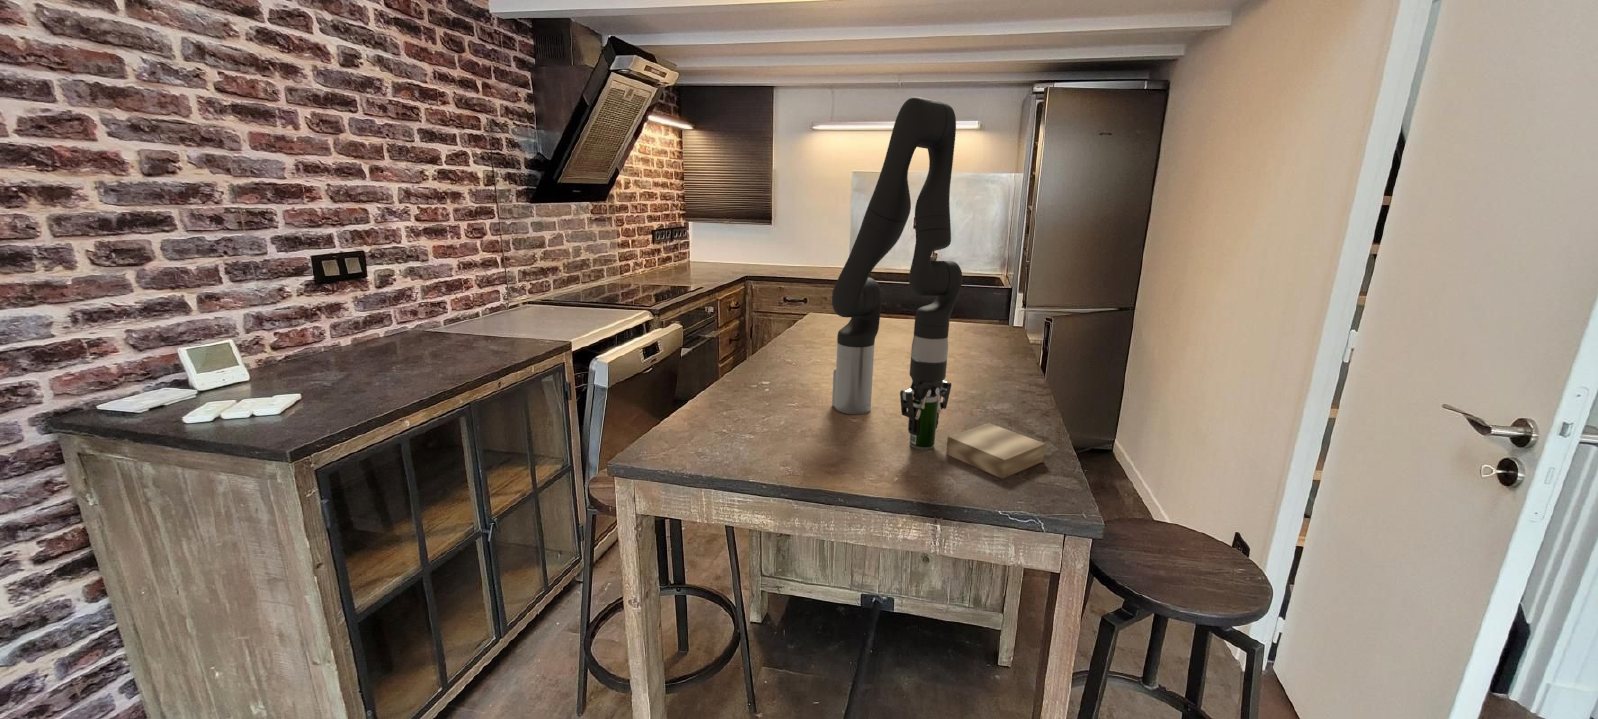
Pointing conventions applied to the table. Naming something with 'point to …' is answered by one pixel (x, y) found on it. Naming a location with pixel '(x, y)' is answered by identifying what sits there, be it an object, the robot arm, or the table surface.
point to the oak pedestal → (995, 450)
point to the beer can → (926, 424)
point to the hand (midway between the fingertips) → (922, 430)
